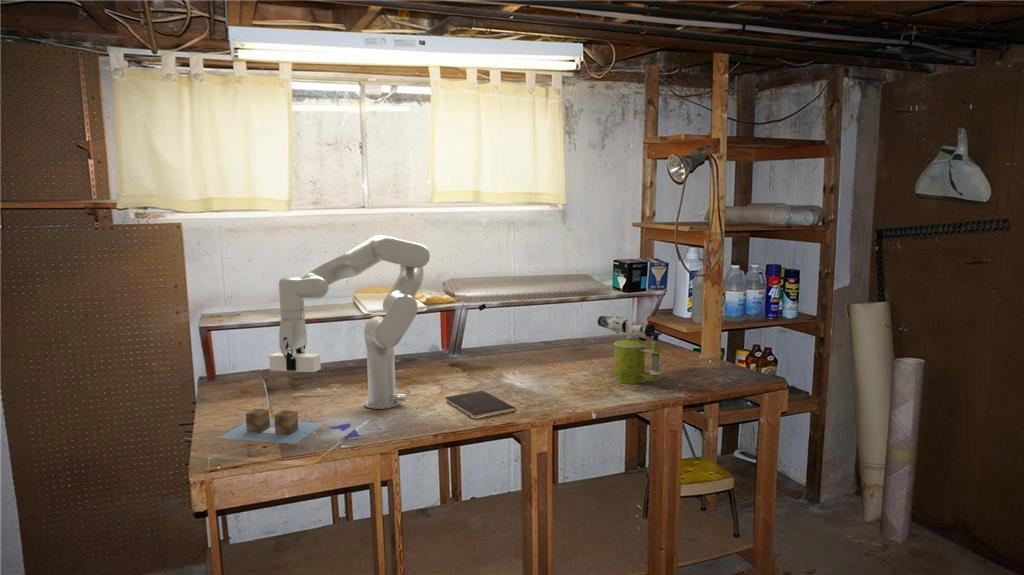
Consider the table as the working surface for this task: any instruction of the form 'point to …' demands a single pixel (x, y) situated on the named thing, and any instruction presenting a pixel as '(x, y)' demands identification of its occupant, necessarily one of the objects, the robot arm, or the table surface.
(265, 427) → the post
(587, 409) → the table surface
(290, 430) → the post
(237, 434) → the board
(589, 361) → the table surface
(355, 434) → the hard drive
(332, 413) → the table surface
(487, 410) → the hardcover book
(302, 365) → the beam
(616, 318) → the blowtorch
